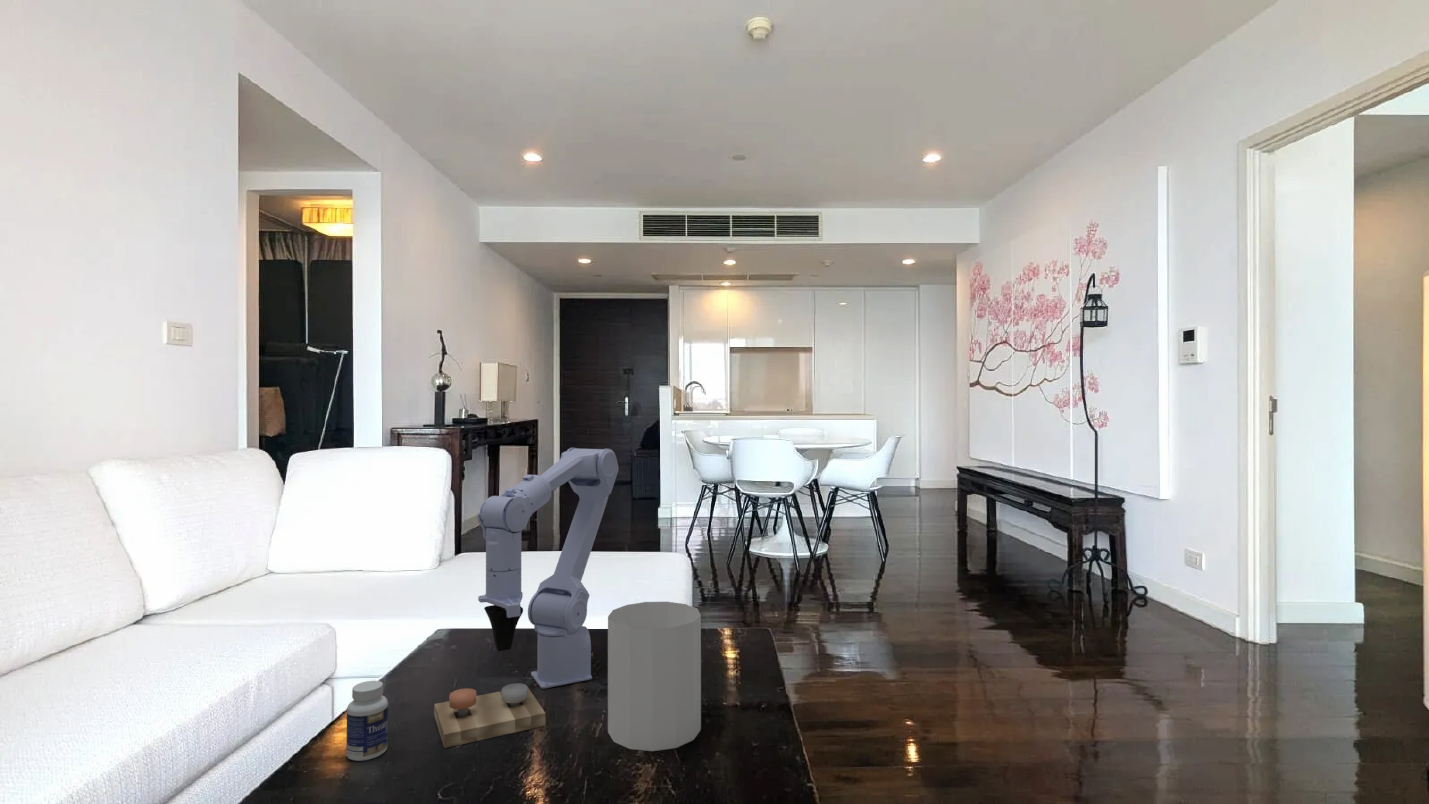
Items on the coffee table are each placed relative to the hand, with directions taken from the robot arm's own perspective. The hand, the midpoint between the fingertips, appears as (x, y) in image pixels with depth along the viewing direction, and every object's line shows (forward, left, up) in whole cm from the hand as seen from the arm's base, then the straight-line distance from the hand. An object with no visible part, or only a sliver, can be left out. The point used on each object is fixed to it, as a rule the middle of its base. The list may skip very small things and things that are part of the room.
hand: (503, 649), depth 115 cm
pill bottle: (+21, +6, -10) cm, 24 cm away
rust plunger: (+7, +4, -9) cm, 12 cm away
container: (-19, +19, -10) cm, 29 cm away
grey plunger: (-1, +4, -9) cm, 10 cm away
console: (+3, +4, -10) cm, 11 cm away
